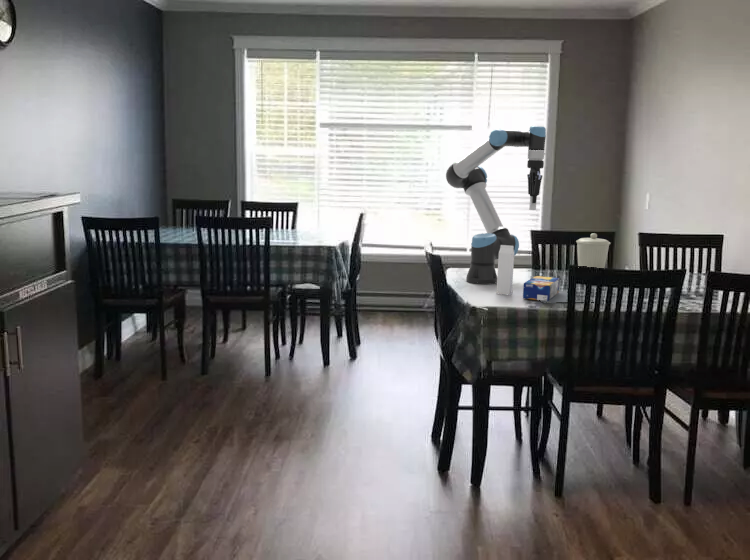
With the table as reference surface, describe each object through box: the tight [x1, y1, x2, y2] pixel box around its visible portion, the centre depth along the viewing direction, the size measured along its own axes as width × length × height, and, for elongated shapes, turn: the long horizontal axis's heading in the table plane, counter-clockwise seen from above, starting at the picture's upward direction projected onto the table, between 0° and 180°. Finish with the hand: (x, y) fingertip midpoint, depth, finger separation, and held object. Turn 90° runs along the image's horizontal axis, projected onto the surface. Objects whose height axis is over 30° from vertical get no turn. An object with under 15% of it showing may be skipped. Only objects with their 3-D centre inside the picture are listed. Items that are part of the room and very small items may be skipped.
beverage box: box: [522, 275, 560, 301], centre depth 329 cm, size 7×11×22 cm
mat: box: [539, 290, 568, 304], centre depth 329 cm, size 26×24×1 cm
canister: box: [575, 232, 611, 269], centre depth 404 cm, size 18×18×21 cm
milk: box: [495, 245, 515, 296], centre depth 333 cm, size 6×6×22 cm
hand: (532, 209), depth 352 cm, fingers closed
